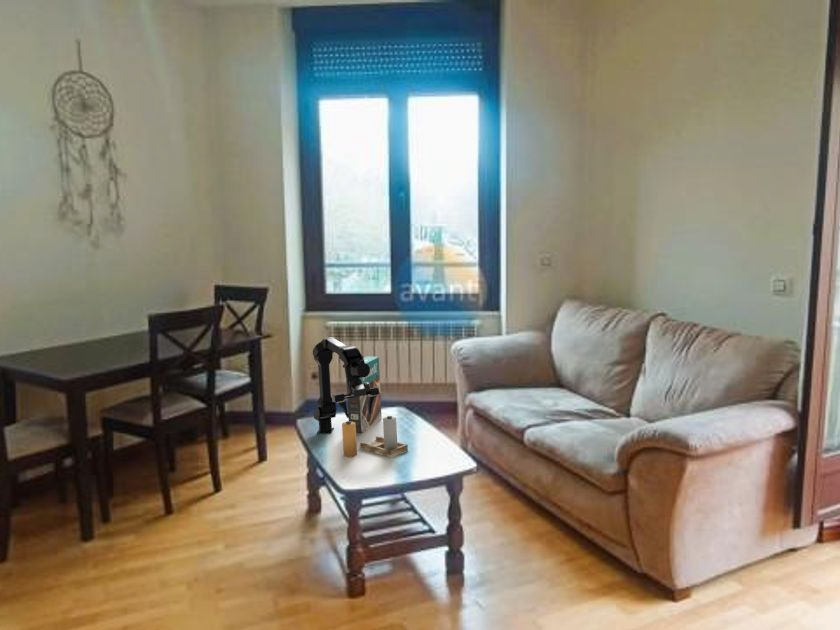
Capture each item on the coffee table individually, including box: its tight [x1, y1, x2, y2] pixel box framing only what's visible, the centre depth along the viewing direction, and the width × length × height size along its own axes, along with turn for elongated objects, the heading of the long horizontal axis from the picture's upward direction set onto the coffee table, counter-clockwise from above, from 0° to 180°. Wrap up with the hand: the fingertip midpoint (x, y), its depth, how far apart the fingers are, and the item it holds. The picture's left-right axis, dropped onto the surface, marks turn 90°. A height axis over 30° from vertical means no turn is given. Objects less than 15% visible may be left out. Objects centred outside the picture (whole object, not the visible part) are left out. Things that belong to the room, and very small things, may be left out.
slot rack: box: [359, 435, 409, 459], centre depth 280 cm, size 18×10×2 cm, turn 47°
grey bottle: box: [382, 415, 398, 450], centre depth 276 cm, size 5×5×14 cm
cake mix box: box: [346, 355, 383, 435], centre depth 310 cm, size 22×6×30 cm, turn 159°
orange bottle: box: [341, 420, 358, 458], centre depth 275 cm, size 5×5×14 cm
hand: (358, 415), depth 277 cm, fingers open, 9 cm apart
